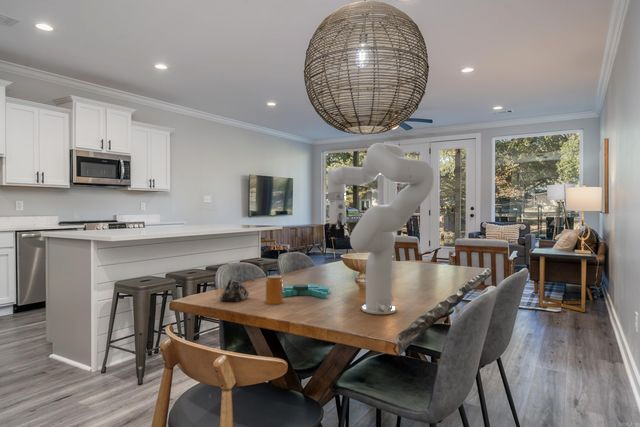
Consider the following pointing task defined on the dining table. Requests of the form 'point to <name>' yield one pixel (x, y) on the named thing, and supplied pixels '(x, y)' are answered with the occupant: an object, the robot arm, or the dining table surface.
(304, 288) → the lid
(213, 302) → the dining table surface
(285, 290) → the alien figure
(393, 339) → the dining table surface
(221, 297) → the rock
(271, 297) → the jar
